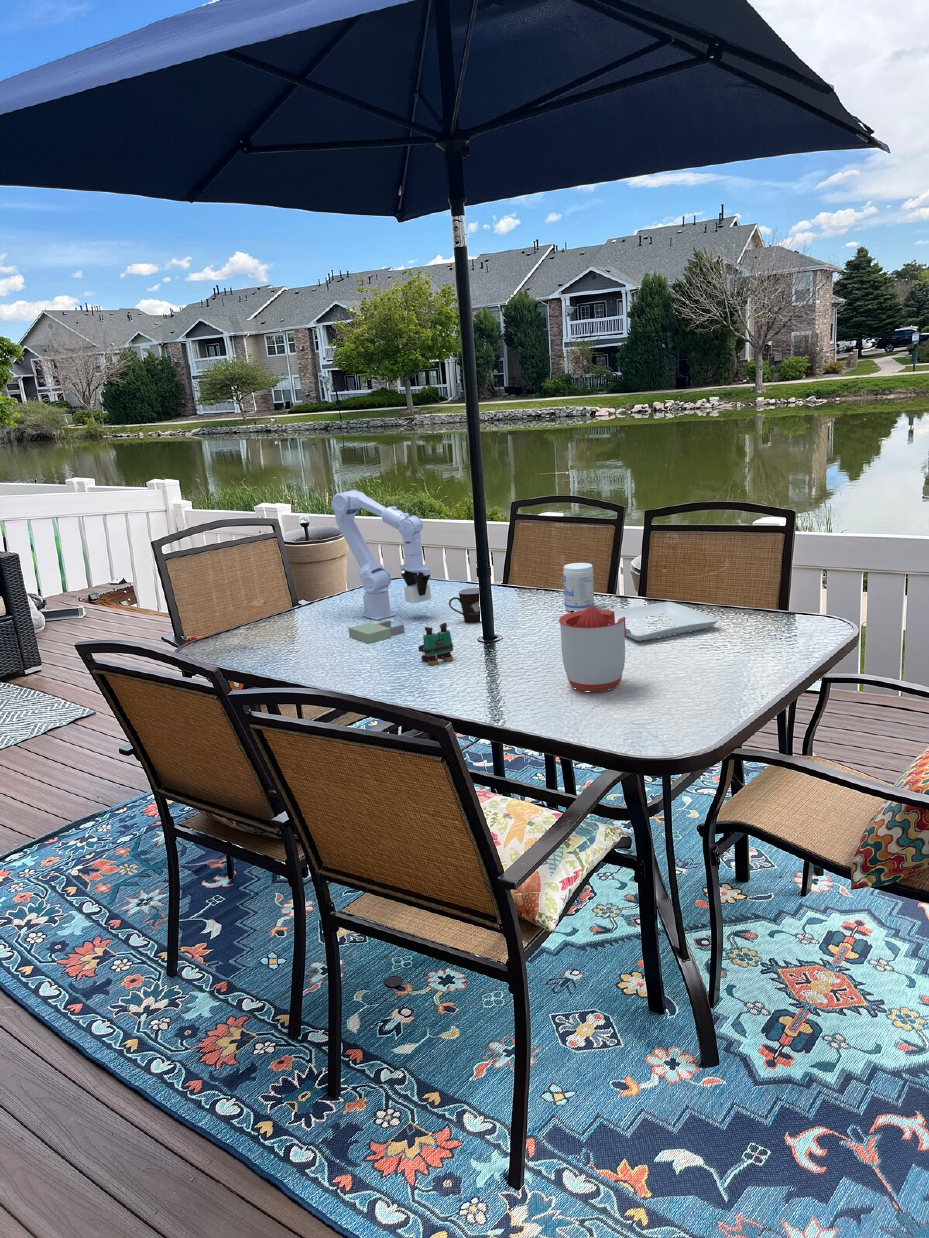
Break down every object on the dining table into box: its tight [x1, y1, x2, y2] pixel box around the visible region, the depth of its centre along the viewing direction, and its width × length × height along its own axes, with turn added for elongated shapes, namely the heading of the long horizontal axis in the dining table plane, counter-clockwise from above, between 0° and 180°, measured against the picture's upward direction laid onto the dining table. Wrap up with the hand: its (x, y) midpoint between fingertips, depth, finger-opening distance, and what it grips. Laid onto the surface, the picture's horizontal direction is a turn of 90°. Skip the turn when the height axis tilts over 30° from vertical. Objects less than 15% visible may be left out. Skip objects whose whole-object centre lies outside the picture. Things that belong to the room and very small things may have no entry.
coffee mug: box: [448, 587, 481, 624], centre depth 269 cm, size 12×9×10 cm
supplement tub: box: [562, 562, 595, 612], centre depth 271 cm, size 10×10×15 cm
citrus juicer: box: [558, 605, 631, 692], centre depth 200 cm, size 16×17×20 cm
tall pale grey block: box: [403, 583, 432, 604], centre depth 277 cm, size 5×7×5 cm
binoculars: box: [418, 622, 454, 666], centre depth 232 cm, size 9×11×10 cm
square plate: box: [613, 601, 720, 642], centre depth 245 cm, size 27×27×4 cm
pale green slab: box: [348, 620, 405, 644], centre depth 263 cm, size 12×14×3 cm
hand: (417, 594), depth 277 cm, fingers closed on tall pale grey block, 5 cm apart
